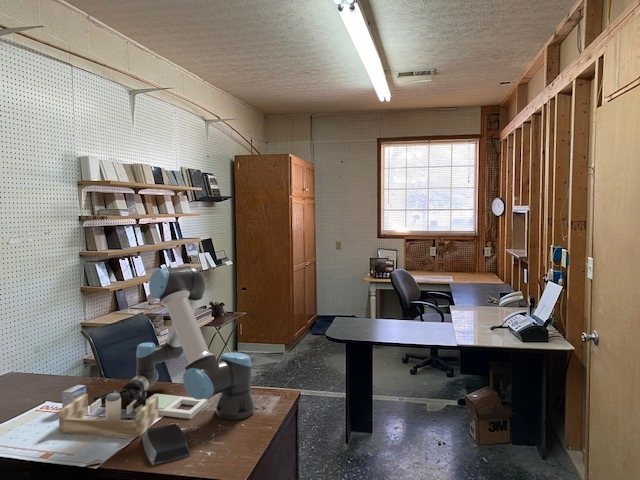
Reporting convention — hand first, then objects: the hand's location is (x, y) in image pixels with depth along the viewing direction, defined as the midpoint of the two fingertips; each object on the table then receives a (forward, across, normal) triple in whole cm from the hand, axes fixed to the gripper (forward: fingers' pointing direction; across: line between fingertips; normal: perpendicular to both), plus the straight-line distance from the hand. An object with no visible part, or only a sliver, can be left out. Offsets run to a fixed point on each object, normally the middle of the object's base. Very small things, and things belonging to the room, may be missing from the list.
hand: (109, 410), depth 161 cm
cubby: (-1, 0, -6) cm, 6 cm away
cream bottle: (-3, 0, -6) cm, 7 cm away
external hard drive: (+13, -26, -7) cm, 30 cm away
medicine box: (-12, +20, -6) cm, 25 cm away
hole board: (-17, -17, -6) cm, 25 cm away
